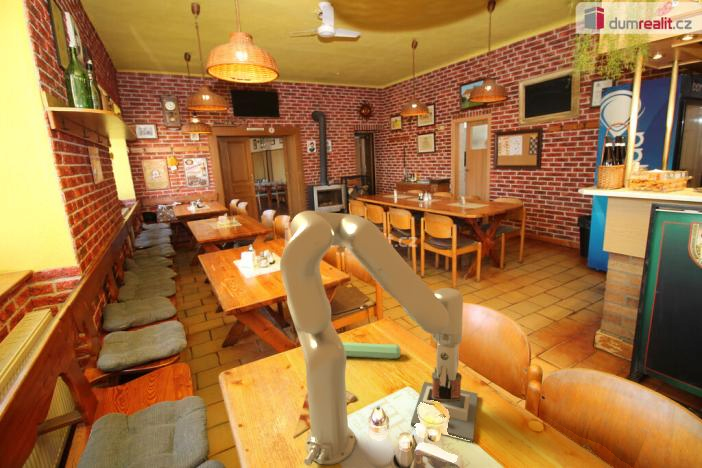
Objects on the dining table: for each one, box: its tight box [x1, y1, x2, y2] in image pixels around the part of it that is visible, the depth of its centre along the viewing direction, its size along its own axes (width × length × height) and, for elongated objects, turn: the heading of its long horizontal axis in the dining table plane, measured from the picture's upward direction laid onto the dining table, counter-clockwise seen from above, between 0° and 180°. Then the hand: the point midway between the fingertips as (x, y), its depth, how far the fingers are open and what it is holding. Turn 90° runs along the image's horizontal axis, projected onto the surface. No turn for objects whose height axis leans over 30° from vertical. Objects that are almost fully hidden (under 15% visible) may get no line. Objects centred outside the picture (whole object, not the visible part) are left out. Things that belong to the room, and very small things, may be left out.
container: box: [342, 341, 402, 360], centre depth 126 cm, size 6×6×25 cm
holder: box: [410, 381, 478, 442], centre depth 98 cm, size 18×16×4 cm
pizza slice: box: [293, 389, 357, 439], centre depth 104 cm, size 16×22×2 cm
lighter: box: [431, 366, 462, 402], centre depth 96 cm, size 8×3×10 cm, turn 84°
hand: (446, 391), depth 97 cm, fingers closed on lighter, 4 cm apart
